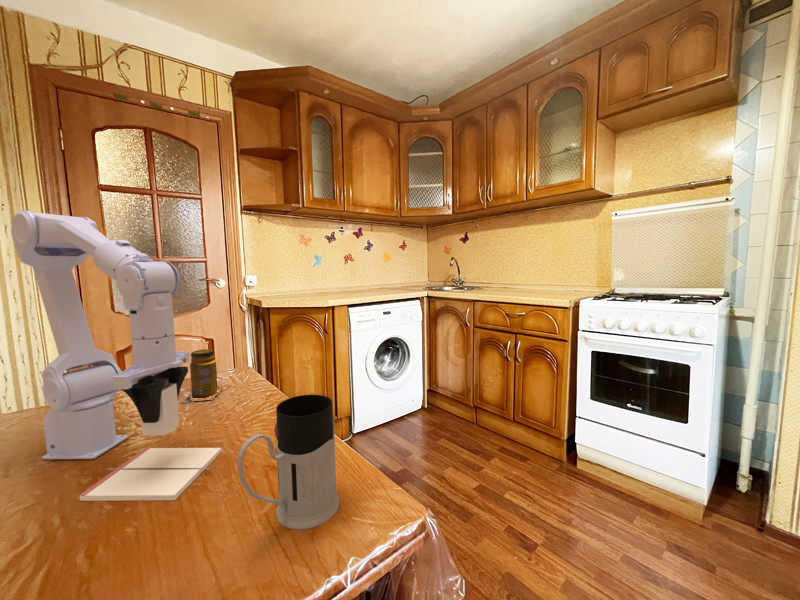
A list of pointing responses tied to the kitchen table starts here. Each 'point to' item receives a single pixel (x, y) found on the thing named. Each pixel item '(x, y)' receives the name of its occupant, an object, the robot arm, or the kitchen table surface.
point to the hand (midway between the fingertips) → (160, 416)
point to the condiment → (203, 374)
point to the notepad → (152, 475)
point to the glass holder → (302, 462)
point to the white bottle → (164, 411)
